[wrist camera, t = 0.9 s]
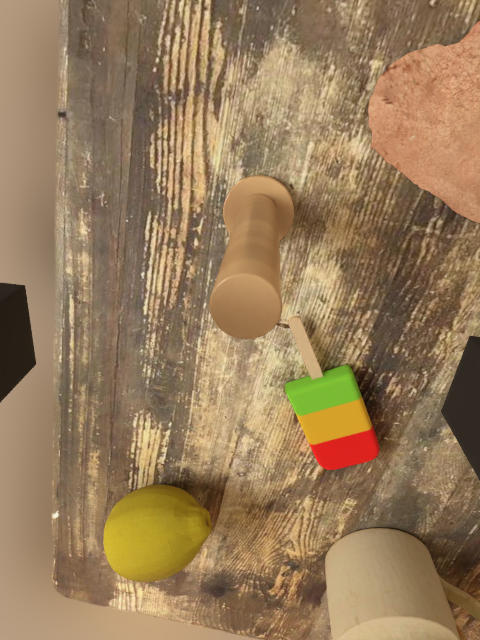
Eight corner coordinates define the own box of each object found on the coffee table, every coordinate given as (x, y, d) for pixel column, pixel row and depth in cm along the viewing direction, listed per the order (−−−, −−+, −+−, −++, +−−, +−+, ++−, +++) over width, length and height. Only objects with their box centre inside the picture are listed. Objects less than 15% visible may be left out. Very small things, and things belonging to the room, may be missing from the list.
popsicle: (319, 459, 39) (322, 475, 37) (259, 323, 33) (258, 335, 32) (379, 444, 38) (384, 460, 36) (327, 300, 32) (330, 311, 30)
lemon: (130, 527, 45) (103, 606, 38) (102, 473, 42) (67, 549, 35) (228, 516, 43) (220, 596, 36) (208, 459, 40) (194, 535, 33)
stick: (226, 171, 28) (180, 234, 14) (298, 178, 28) (325, 250, 14) (221, 241, 31) (176, 357, 16) (288, 248, 30) (302, 372, 16)
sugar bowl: (449, 501, 40) (537, 698, 27) (482, 569, 44) (574, 770, 31) (305, 544, 44) (320, 733, 31) (348, 603, 48) (377, 793, 35)
